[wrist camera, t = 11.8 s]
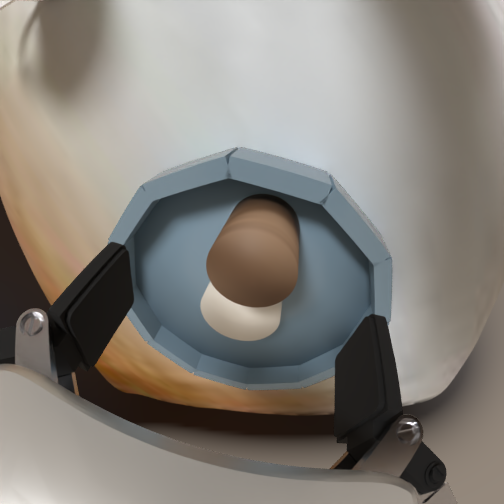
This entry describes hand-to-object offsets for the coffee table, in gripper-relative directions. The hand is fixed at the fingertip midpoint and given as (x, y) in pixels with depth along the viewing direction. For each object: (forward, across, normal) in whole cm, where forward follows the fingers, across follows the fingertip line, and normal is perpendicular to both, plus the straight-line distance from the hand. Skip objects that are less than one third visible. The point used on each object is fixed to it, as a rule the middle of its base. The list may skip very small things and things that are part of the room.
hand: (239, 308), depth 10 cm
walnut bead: (+8, 0, +1) cm, 8 cm away
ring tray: (+9, 0, +7) cm, 11 cm away
